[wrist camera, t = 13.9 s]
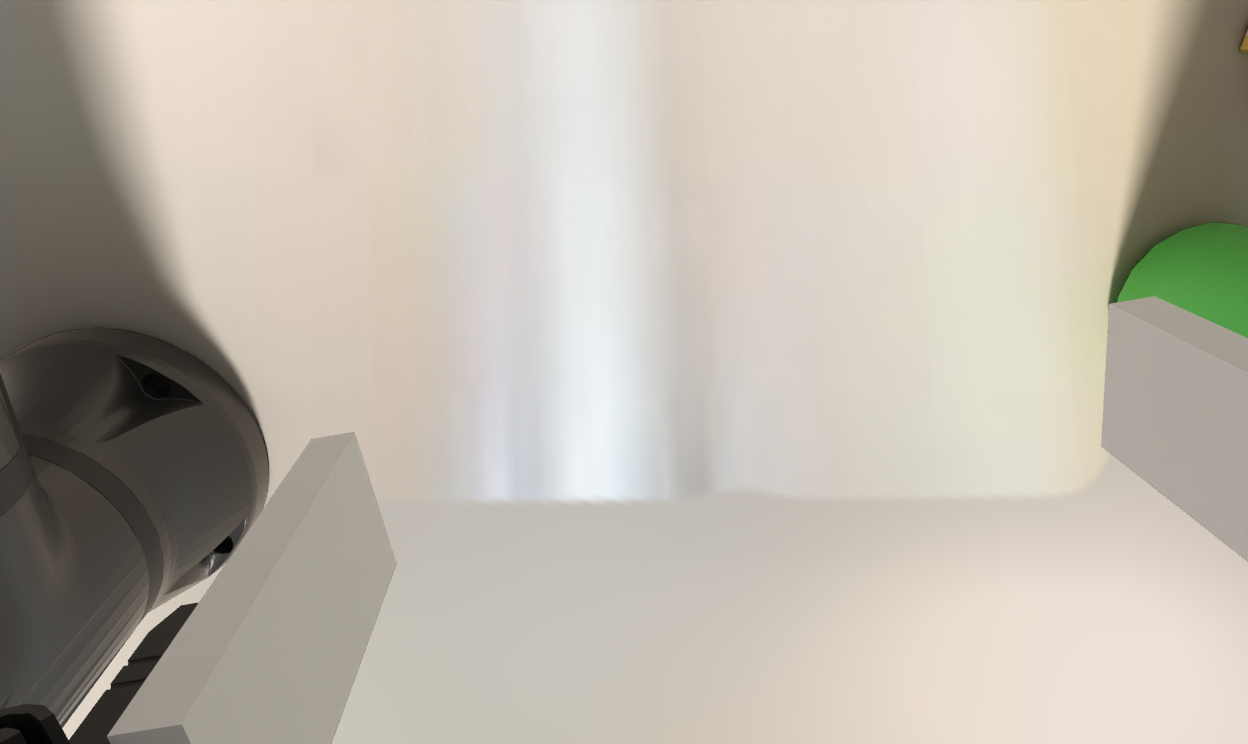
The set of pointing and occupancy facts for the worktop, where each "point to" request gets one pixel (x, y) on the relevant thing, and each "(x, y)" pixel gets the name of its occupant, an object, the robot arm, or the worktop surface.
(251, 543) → the robot arm
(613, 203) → the worktop surface
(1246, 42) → the candy box
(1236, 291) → the bottle
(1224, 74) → the worktop surface
